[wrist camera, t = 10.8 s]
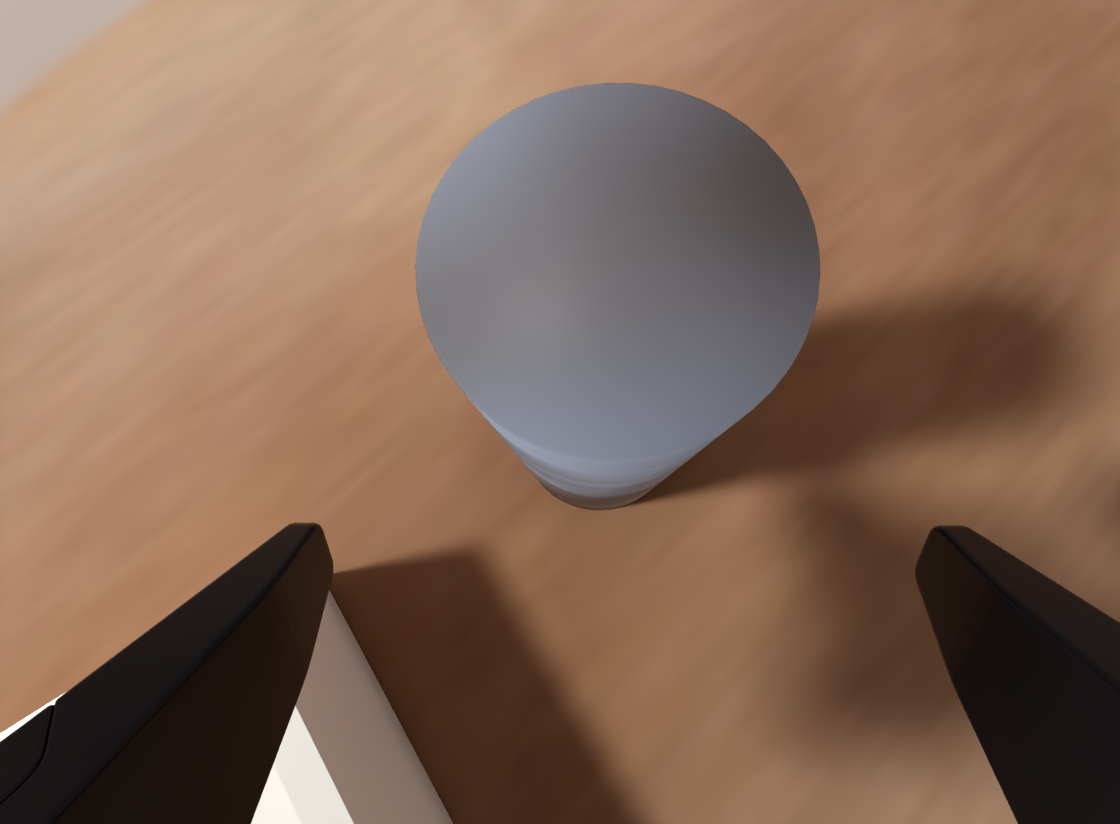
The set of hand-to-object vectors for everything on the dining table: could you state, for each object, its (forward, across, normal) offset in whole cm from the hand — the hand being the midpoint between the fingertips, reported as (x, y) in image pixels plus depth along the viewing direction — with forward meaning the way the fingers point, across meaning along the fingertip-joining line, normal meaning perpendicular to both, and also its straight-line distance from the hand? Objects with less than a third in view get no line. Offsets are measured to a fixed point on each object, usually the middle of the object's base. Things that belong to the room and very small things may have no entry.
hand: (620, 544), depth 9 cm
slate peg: (+10, 0, +5) cm, 11 cm away
